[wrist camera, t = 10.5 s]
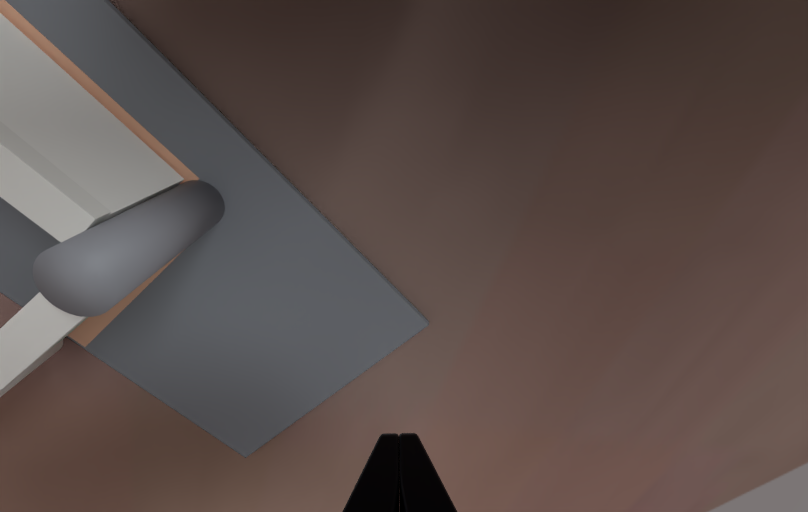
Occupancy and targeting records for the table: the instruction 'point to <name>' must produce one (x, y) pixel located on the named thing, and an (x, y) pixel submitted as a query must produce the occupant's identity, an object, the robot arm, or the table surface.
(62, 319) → the fence gate
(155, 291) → the mat
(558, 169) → the table surface
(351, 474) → the table surface
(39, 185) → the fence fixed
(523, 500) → the table surface
